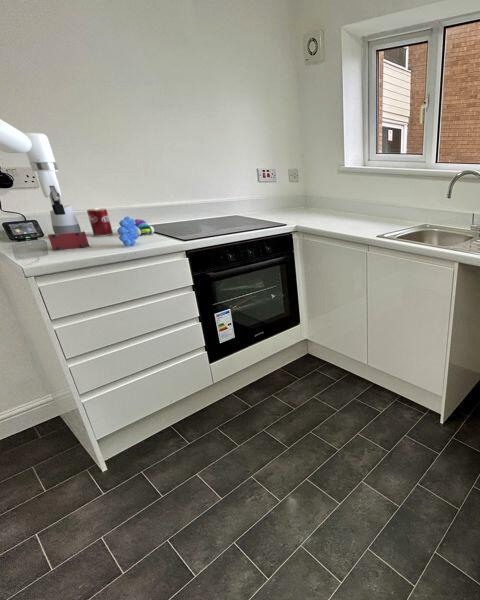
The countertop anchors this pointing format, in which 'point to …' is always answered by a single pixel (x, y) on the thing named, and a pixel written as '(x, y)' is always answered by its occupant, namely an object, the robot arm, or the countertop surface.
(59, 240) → the red boxy piece
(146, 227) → the multicoloured rounded piece
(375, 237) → the countertop surface
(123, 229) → the grapes
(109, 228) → the soda can
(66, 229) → the smart speaker
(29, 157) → the robot arm
